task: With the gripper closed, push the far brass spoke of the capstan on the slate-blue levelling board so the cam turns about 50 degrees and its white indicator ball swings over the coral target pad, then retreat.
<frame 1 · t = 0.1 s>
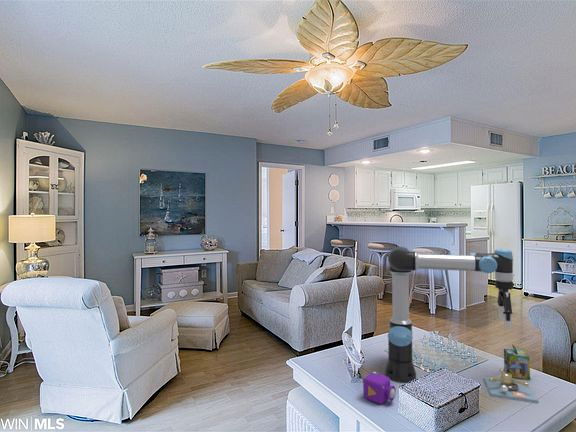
hand: (504, 323, 168), 28 cm above the table, fingers open, 13 cm apart
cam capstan: (506, 379, 157), point 5 cm above the table, hinge at 0.0°
toy camera: (380, 399, 150), on the table
chalk box: (516, 375, 172), on the table
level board: (508, 390, 157), on the table
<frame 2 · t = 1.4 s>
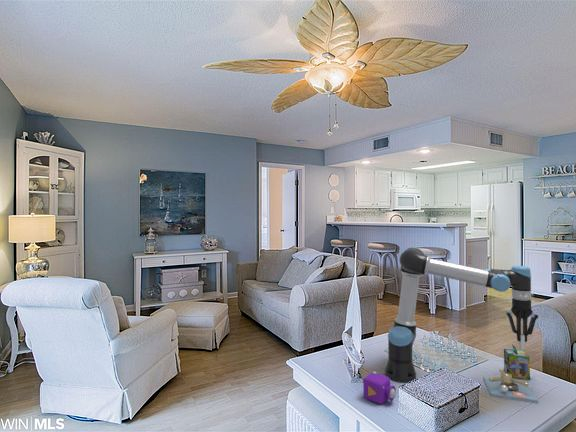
hand: (522, 348, 160), 18 cm above the table, fingers closed
nothing on the table moved.
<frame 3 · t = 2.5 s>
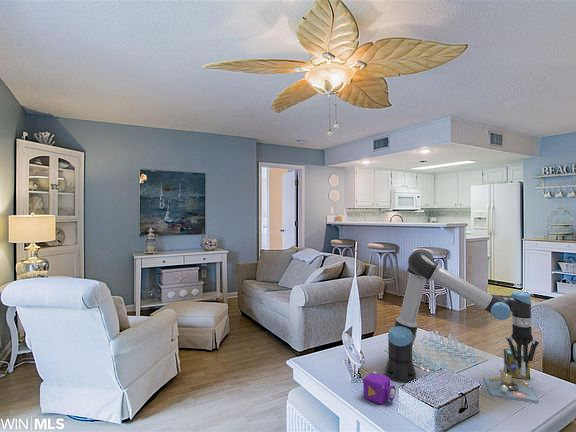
hand: (522, 374, 160), 6 cm above the table, fingers closed
nothing on the table moved.
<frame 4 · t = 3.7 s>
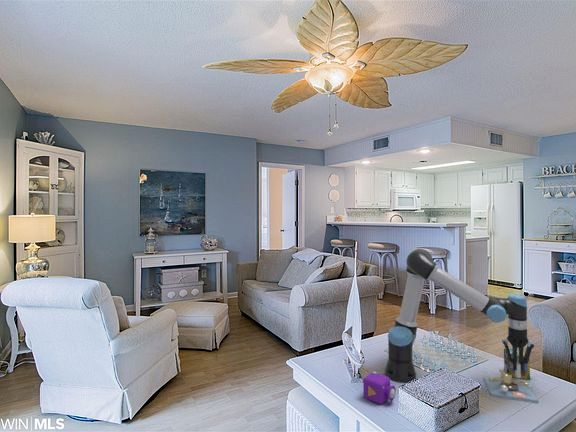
hand: (517, 376, 160), 4 cm above the table, fingers closed
nothing on the table moved.
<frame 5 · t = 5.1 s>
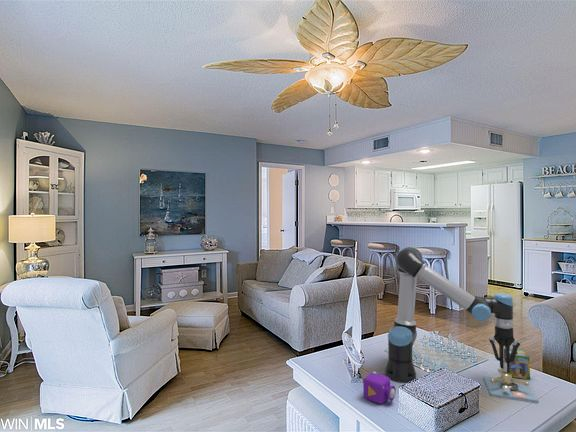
hand: (504, 375, 162), 4 cm above the table, fingers closed
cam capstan: (505, 379, 157), point 5 cm above the table, hinge at 5.7°, touching gripper
everything else where it was.
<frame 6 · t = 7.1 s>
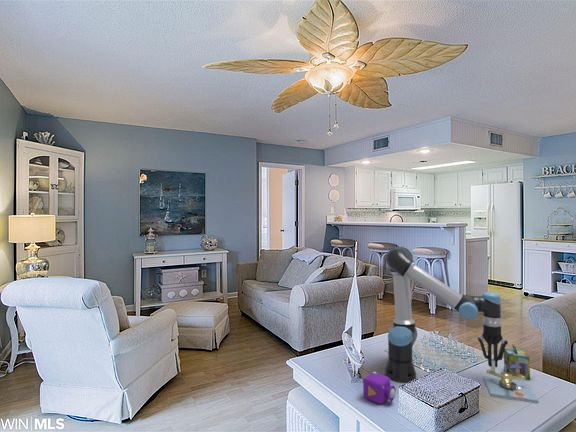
hand: (492, 373, 164), 5 cm above the table, fingers closed
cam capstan: (505, 379, 157), point 5 cm above the table, hinge at 51.8°, touching gripper
everything else where it was.
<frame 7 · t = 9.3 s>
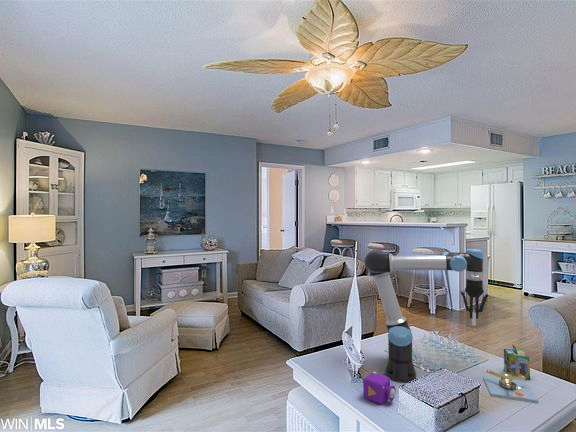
hand: (473, 324, 173), 25 cm above the table, fingers closed
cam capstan: (505, 379, 157), point 5 cm above the table, hinge at 51.9°
everything else where it was.
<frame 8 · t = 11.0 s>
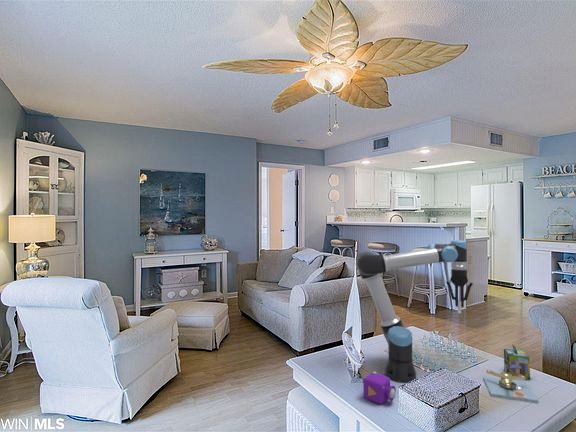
hand: (459, 312, 181), 29 cm above the table, fingers closed
nothing on the table moved.
at the end: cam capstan at +52° (first picture: +0°) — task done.
